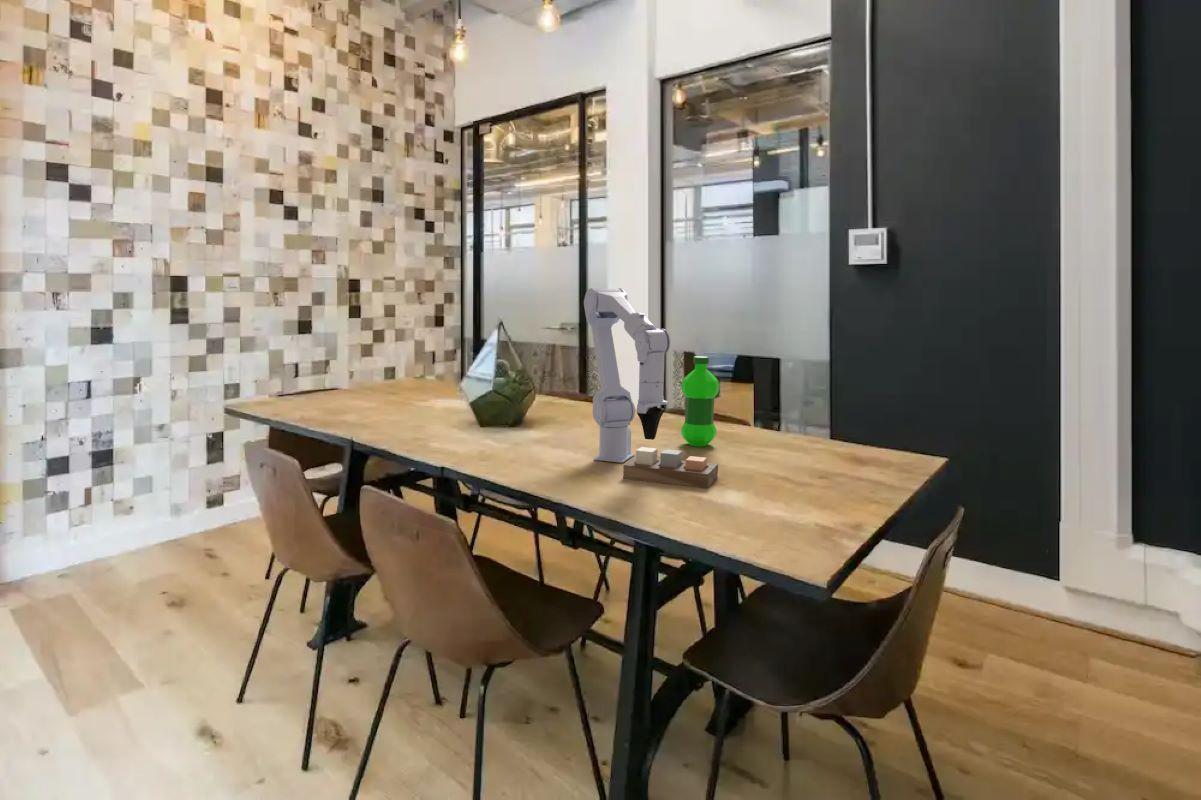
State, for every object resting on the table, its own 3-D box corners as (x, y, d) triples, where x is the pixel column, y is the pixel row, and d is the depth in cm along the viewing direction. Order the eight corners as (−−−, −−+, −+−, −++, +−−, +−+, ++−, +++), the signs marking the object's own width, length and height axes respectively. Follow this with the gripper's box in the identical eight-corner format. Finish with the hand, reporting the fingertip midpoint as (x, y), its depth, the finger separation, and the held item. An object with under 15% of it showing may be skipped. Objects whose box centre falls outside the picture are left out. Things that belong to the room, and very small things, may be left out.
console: (637, 468, 175) (637, 455, 175) (717, 477, 168) (718, 464, 167) (623, 478, 166) (623, 464, 165) (707, 488, 159) (708, 474, 158)
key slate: (665, 464, 169) (665, 449, 168) (681, 465, 167) (681, 451, 167) (660, 468, 165) (660, 452, 165) (676, 469, 164) (677, 454, 163)
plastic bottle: (724, 446, 201) (727, 357, 197) (694, 449, 196) (697, 359, 192) (702, 439, 210) (705, 354, 206) (672, 442, 204) (675, 356, 201)
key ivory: (641, 461, 171) (641, 447, 171) (657, 463, 170) (657, 448, 169) (635, 465, 168) (636, 450, 167) (651, 467, 166) (652, 452, 165)
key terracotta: (689, 471, 167) (690, 456, 166) (706, 472, 165) (706, 457, 165) (685, 475, 163) (685, 459, 163) (702, 477, 162) (702, 461, 161)
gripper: (658, 386, 157) (657, 446, 159) (676, 378, 170) (674, 434, 173) (628, 384, 160) (627, 443, 162) (648, 377, 173) (647, 431, 175)
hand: (649, 438), depth 167 cm, fingers closed
